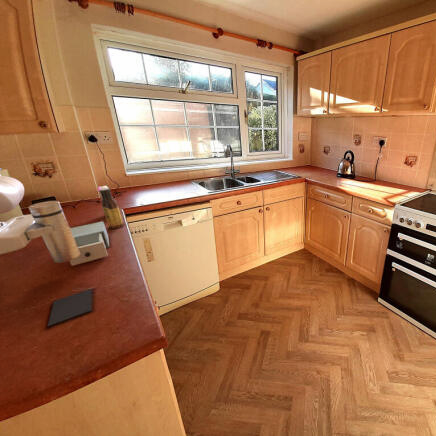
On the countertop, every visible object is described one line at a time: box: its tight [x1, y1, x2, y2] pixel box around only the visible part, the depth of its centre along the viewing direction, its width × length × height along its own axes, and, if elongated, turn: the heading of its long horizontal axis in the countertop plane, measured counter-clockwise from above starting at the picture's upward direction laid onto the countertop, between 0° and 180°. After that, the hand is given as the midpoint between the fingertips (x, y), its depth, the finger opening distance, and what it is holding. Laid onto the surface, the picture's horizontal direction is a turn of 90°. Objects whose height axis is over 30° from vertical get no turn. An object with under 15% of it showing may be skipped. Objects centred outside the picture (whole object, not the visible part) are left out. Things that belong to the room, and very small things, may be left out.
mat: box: [47, 288, 93, 328], centre depth 70 cm, size 9×12×1 cm
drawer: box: [68, 233, 109, 267], centre depth 95 cm, size 14×11×6 cm
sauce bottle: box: [100, 187, 124, 230], centre depth 120 cm, size 6×6×20 cm
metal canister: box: [28, 200, 80, 264], centre depth 70 cm, size 6×6×17 cm
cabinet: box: [70, 220, 110, 249], centre depth 103 cm, size 13×12×8 cm
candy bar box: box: [96, 185, 109, 202], centre depth 136 cm, size 11×5×16 cm, turn 38°
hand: (57, 224), depth 70 cm, fingers closed on metal canister, 6 cm apart
